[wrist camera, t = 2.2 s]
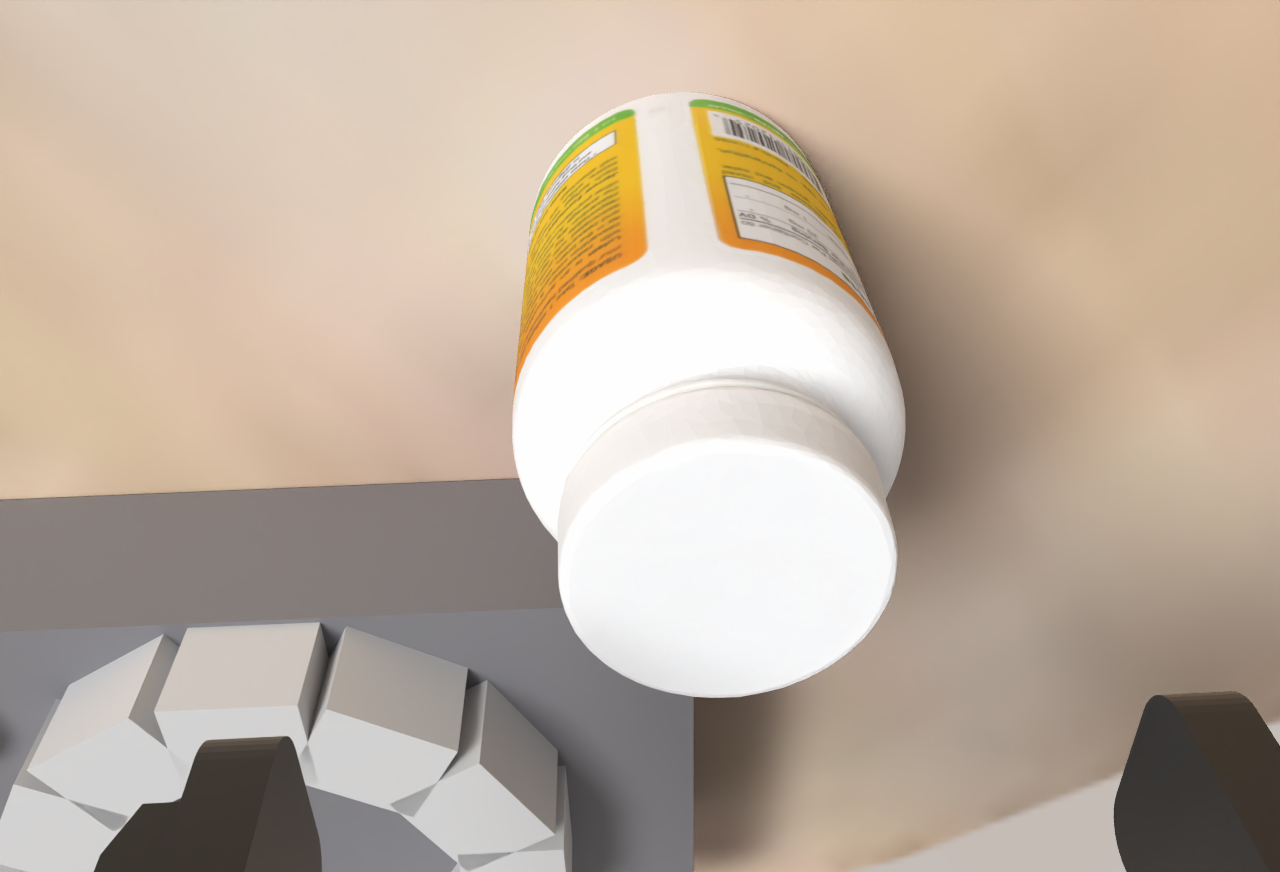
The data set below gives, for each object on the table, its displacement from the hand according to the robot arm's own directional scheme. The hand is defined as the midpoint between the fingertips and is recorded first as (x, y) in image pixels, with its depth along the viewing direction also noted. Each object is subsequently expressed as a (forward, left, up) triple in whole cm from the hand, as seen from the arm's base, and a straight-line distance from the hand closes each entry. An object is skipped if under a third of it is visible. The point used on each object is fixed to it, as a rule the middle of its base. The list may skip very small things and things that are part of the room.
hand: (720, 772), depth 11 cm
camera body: (+8, +11, -13) cm, 18 cm away
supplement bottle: (0, 0, -13) cm, 13 cm away
